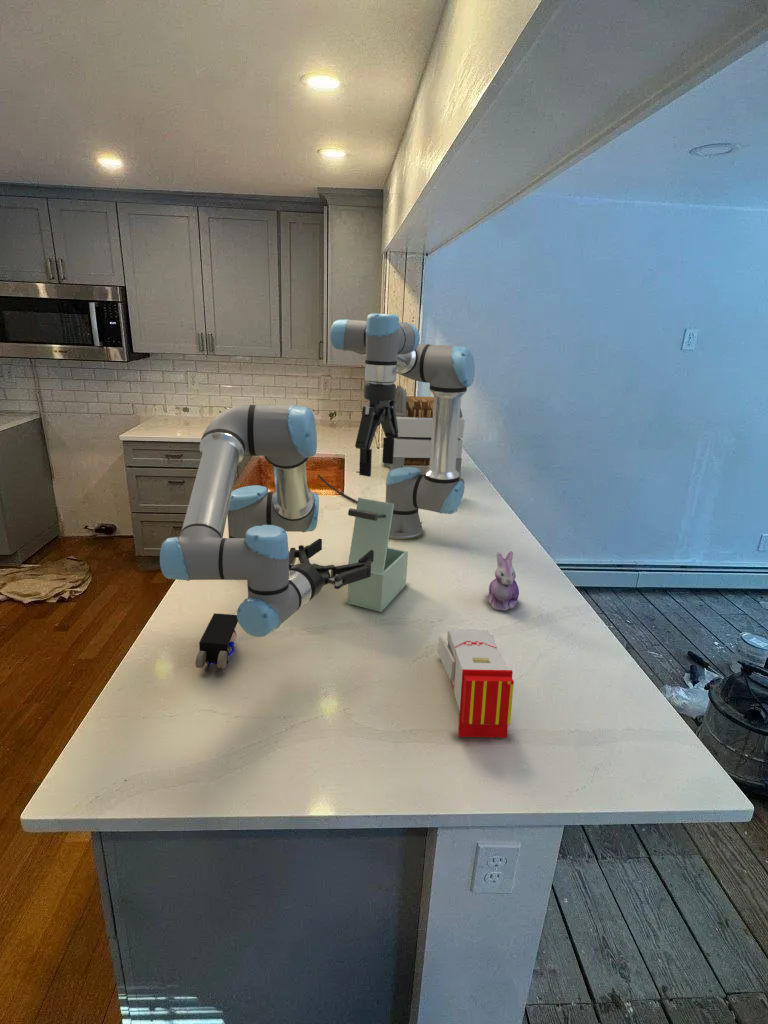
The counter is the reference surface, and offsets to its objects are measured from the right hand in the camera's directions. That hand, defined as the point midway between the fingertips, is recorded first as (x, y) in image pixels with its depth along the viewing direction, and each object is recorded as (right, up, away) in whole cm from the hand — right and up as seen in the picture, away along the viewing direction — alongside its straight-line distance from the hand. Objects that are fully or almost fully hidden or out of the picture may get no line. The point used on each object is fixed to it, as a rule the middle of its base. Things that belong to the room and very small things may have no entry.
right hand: (376, 469), depth 142 cm
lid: (-1, -17, +4) cm, 17 cm away
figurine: (+34, -36, +14) cm, 51 cm away
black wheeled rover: (-35, -43, -16) cm, 58 cm away
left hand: (-7, -19, -9) cm, 22 cm away
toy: (+20, -48, -23) cm, 57 cm away
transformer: (+19, +8, +133) cm, 135 cm away
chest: (0, -33, +16) cm, 37 cm away
